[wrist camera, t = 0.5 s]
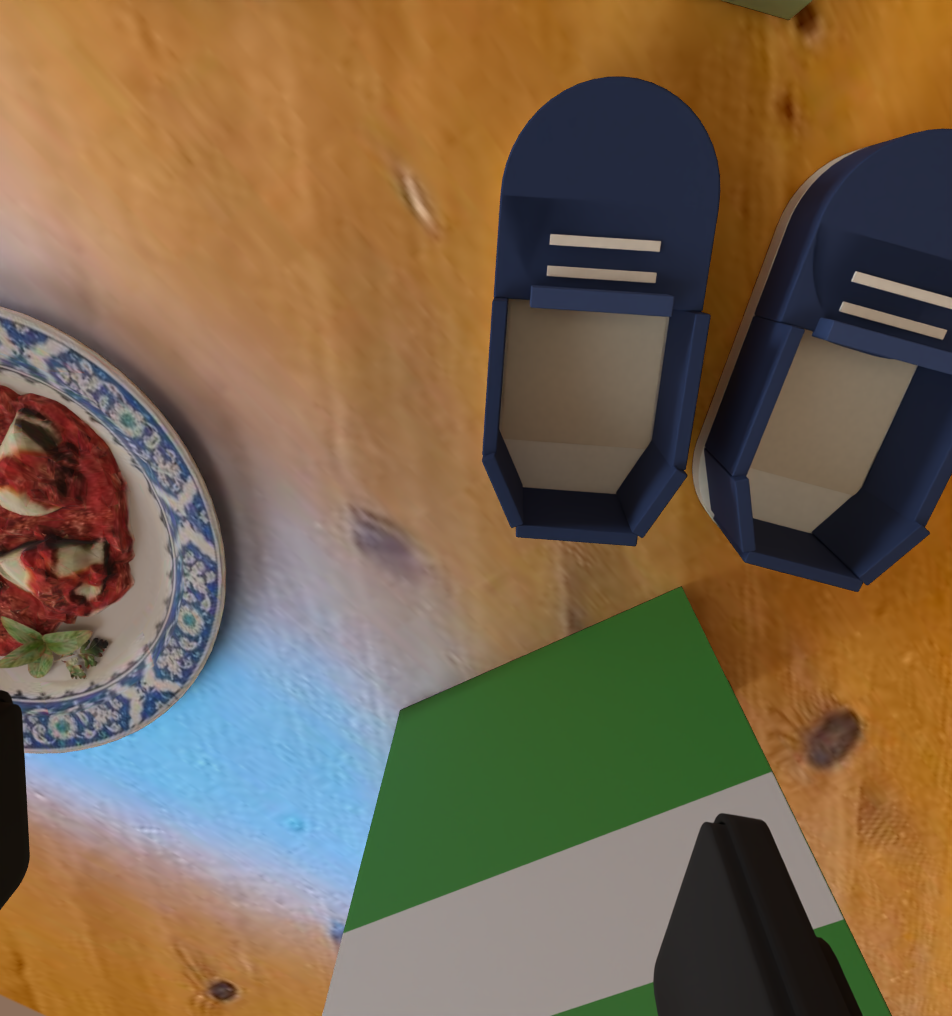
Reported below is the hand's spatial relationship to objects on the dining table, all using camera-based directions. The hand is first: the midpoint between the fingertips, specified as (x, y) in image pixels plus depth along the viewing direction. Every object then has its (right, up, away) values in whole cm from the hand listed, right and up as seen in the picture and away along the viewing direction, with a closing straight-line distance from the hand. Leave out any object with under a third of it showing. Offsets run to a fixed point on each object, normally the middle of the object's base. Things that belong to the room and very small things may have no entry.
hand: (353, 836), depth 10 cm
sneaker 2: (+18, +12, +25) cm, 33 cm away
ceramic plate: (-24, +3, +31) cm, 39 cm away
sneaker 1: (+7, +13, +25) cm, 30 cm away
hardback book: (+7, -7, +33) cm, 34 cm away
